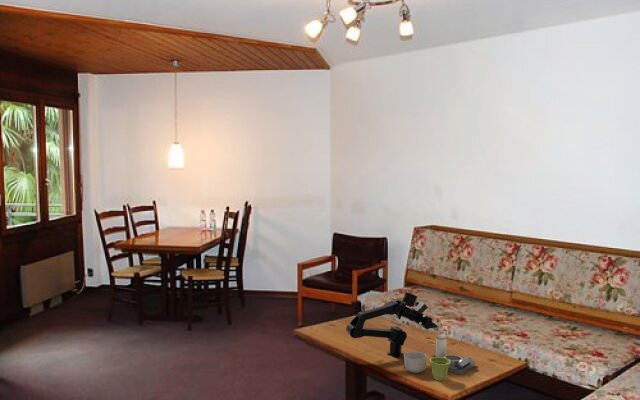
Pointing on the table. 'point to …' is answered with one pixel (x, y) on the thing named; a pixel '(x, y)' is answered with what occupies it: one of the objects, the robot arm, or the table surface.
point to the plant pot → (440, 368)
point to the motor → (459, 364)
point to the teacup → (415, 361)
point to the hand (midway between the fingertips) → (433, 324)
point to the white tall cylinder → (441, 345)
